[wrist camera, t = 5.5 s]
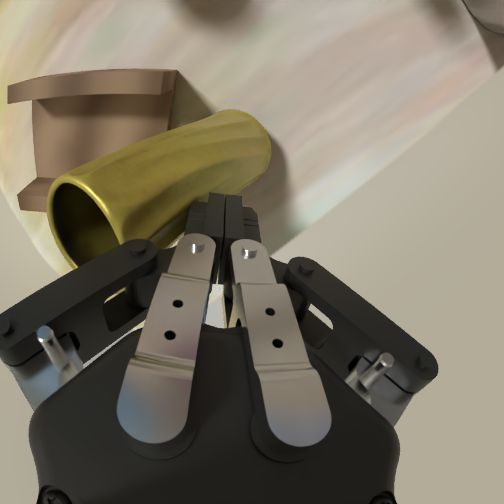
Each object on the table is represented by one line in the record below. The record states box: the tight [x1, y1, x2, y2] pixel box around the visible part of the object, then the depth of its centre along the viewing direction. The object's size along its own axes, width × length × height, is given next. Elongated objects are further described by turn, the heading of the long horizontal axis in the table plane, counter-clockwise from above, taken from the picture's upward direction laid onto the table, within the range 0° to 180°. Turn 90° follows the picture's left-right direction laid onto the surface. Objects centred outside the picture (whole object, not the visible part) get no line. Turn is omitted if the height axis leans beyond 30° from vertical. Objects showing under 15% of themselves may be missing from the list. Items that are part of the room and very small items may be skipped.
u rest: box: [8, 69, 177, 212], centre depth 18 cm, size 13×11×4 cm
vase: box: [47, 109, 271, 294], centre depth 15 cm, size 6×6×14 cm
